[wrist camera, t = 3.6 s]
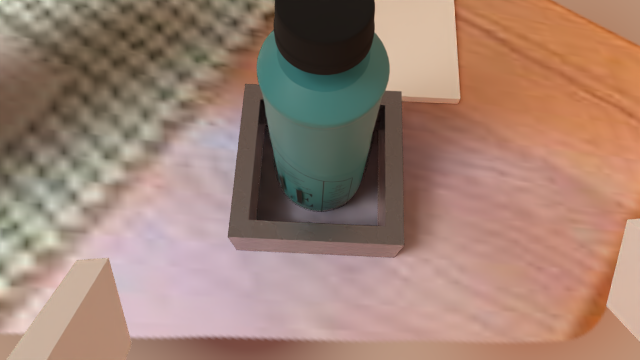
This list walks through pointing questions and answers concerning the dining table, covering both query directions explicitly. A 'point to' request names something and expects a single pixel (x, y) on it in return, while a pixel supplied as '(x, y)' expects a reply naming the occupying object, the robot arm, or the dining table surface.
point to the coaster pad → (420, 48)
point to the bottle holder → (318, 235)
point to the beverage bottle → (322, 96)
